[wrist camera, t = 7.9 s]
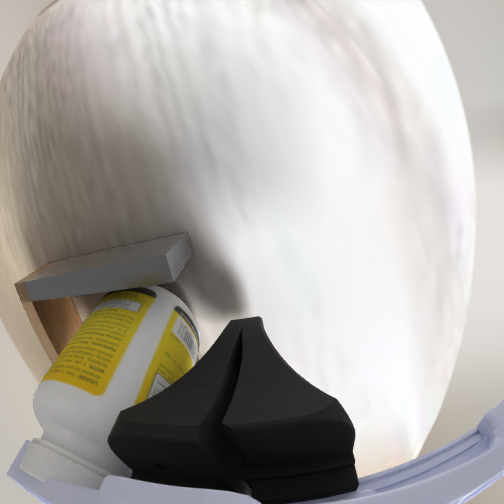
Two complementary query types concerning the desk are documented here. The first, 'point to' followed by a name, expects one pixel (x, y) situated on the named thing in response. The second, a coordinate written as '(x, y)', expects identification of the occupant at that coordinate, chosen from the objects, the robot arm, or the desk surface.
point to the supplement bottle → (108, 381)
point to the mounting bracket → (95, 283)
